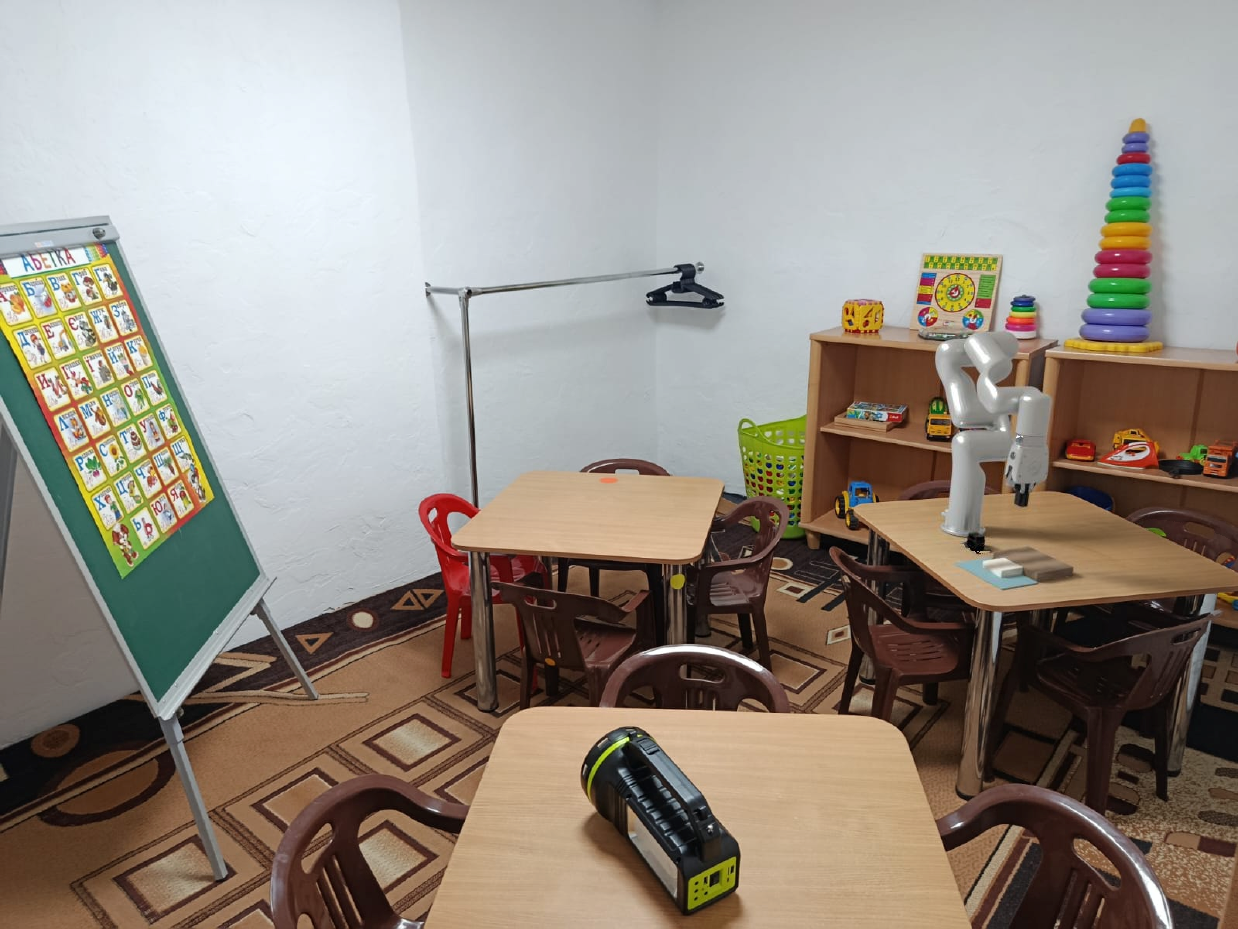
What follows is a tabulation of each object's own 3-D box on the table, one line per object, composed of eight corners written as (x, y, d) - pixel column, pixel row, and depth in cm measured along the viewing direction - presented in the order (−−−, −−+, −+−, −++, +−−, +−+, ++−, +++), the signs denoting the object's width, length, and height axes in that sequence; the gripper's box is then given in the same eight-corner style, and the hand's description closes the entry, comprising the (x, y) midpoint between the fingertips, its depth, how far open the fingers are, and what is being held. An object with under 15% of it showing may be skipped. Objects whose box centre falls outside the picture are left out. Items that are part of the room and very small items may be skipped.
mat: (954, 564, 231) (955, 563, 230) (989, 558, 234) (989, 557, 234) (1001, 589, 214) (1002, 588, 214) (1038, 583, 217) (1038, 582, 217)
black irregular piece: (951, 542, 247) (952, 528, 246) (972, 540, 249) (974, 526, 248) (978, 558, 236) (980, 543, 235) (1000, 555, 237) (1002, 540, 236)
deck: (992, 559, 233) (993, 551, 232) (1027, 554, 237) (1028, 546, 236) (1036, 582, 218) (1037, 573, 218) (1072, 575, 222) (1073, 567, 221)
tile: (982, 567, 227) (983, 560, 227) (1003, 564, 229) (1004, 557, 229) (1000, 577, 221) (1001, 570, 220) (1022, 574, 223) (1023, 567, 222)
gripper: (1016, 446, 212) (1007, 513, 217) (1064, 441, 216) (1054, 507, 221) (996, 438, 219) (987, 503, 224) (1043, 433, 223) (1033, 498, 228)
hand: (1020, 505), depth 223 cm, fingers closed
